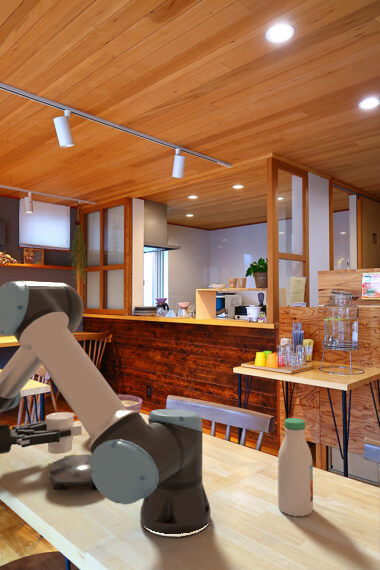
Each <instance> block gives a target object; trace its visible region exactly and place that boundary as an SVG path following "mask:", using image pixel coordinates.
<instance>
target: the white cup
mask: <svg viewBox="0 0 380 570" xmlns="http://www.w3.org/2000/svg"><path fill="white" fill-rule="evenodd" d="M74 417H75V413H74V412H66V411H63V412H54V413H49V414H47V415H46V416H45V421H46V429H47V431H49V430H58V429H59V428H65V427H70V426H75V424H74V422H75V418H74ZM54 437H55V436H54ZM73 439H74V436H72V437H66V438H61V439H60V442H58V443H57V442H53V443H47V452H48V453H49V454H54V455H59V454H65V453H68V452H71V451H72V449H73Z"/></svg>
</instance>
